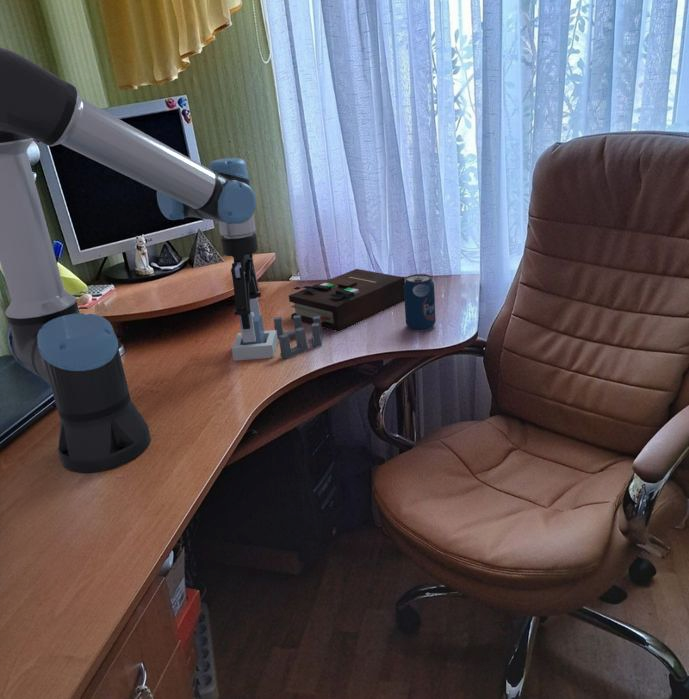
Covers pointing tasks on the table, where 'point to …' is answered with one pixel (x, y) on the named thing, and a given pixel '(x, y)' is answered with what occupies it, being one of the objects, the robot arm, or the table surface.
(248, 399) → the table surface
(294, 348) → the clip
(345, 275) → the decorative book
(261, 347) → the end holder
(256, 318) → the connector
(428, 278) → the soda can
